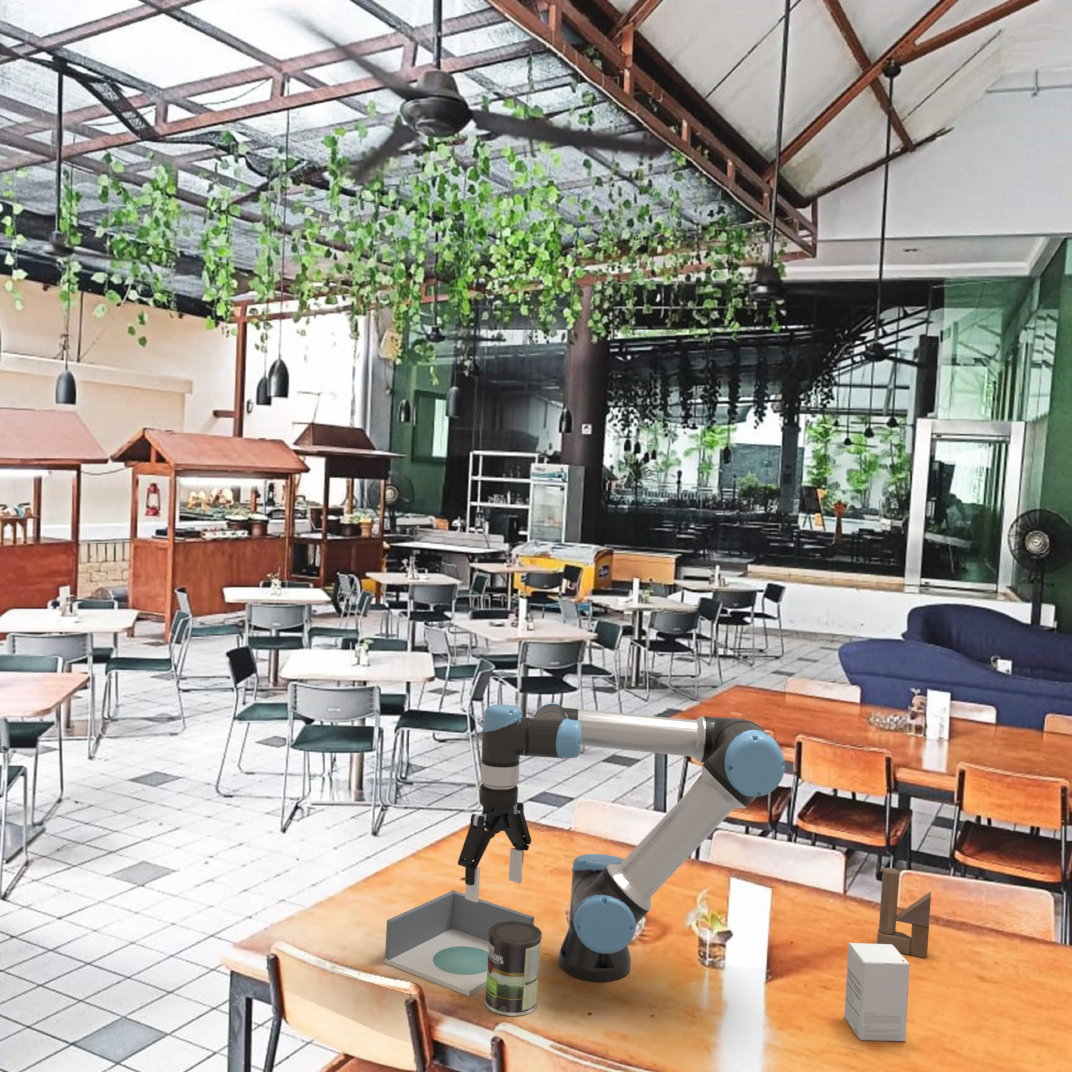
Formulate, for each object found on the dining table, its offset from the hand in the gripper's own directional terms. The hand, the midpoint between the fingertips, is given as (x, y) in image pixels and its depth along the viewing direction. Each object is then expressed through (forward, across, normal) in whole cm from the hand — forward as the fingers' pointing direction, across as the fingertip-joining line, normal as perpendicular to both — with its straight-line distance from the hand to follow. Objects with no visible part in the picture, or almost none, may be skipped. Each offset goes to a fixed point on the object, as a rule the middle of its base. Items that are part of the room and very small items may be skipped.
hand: (494, 890), depth 201 cm
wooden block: (+21, -79, +57) cm, 99 cm away
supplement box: (+21, -38, +64) cm, 77 cm away
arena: (+20, -6, -13) cm, 24 cm away
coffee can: (+20, +2, +7) cm, 21 cm away
